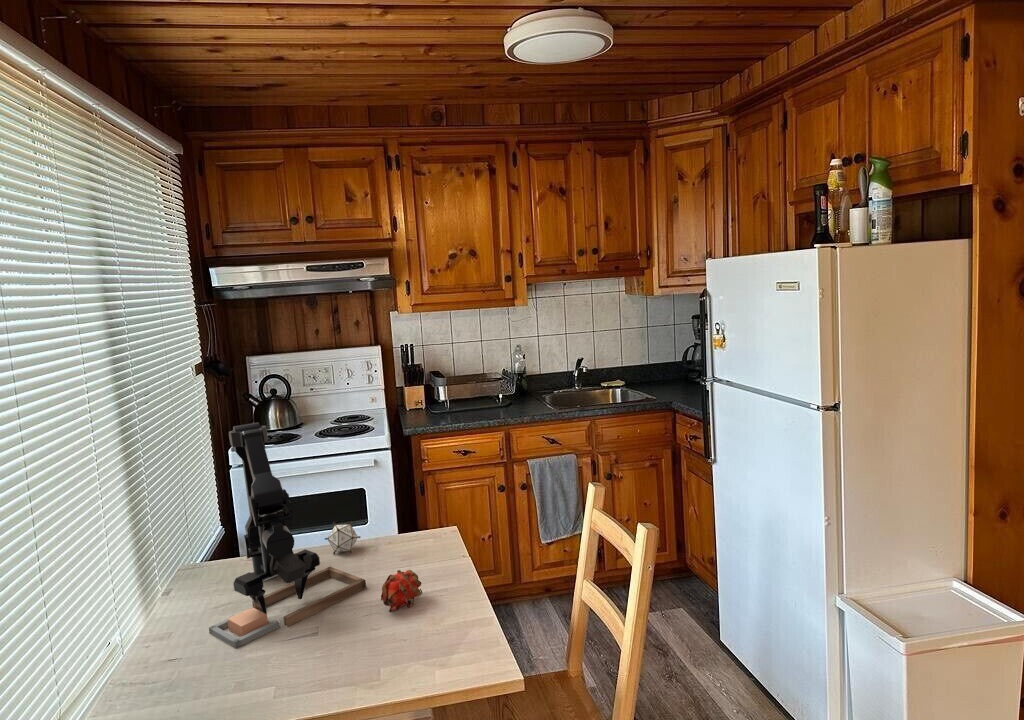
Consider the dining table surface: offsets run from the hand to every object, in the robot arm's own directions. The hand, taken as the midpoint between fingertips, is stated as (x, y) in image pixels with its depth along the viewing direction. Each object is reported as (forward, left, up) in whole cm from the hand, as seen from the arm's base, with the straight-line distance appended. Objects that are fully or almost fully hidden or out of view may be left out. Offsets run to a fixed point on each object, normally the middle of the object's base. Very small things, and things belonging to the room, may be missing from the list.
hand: (282, 607), depth 162 cm
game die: (-16, +29, -1) cm, 33 cm away
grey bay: (0, -9, -1) cm, 9 cm away
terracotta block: (0, -9, -2) cm, 9 cm away
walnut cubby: (0, +7, -1) cm, 7 cm away
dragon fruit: (+22, +17, -1) cm, 28 cm away
